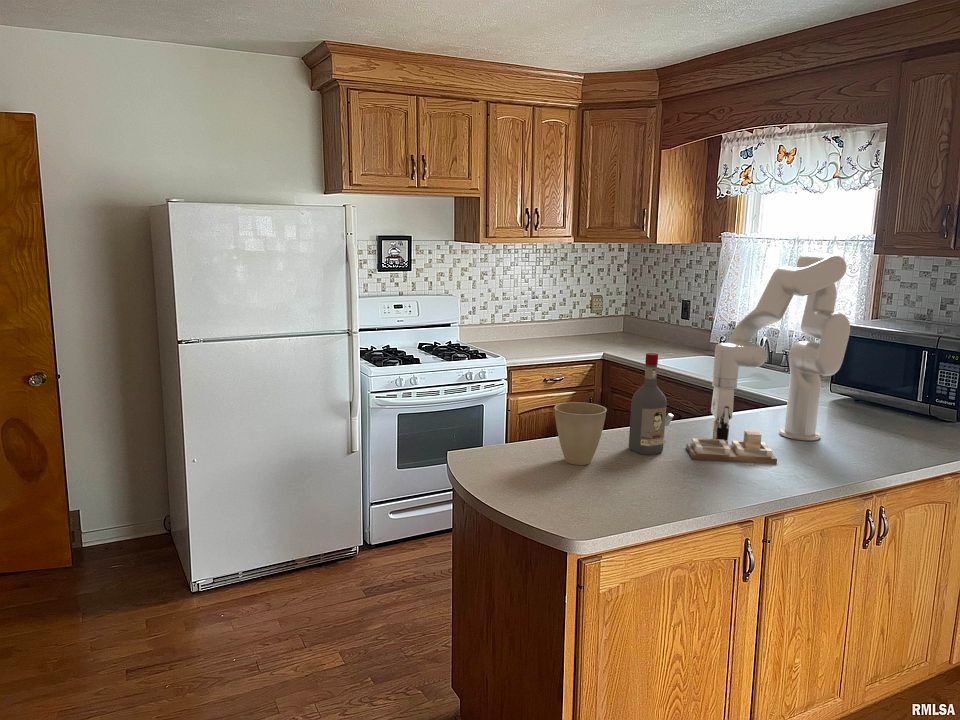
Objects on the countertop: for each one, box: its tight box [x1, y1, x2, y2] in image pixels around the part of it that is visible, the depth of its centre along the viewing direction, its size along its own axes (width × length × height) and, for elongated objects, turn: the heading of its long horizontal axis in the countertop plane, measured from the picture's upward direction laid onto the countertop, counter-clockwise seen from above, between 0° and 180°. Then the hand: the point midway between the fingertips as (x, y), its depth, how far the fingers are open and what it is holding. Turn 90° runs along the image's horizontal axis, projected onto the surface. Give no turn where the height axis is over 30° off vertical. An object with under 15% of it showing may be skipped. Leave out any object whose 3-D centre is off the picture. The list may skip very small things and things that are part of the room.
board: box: [686, 430, 778, 465], centre depth 227 cm, size 12×24×8 cm, turn 84°
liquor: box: [628, 352, 668, 456], centre depth 229 cm, size 9×9×30 cm
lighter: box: [664, 412, 674, 436], centre depth 247 cm, size 7×2×8 cm, turn 42°
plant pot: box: [554, 401, 608, 466], centre depth 218 cm, size 15×15×16 cm
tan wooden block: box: [712, 420, 730, 444], centre depth 242 cm, size 4×4×6 cm
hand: (720, 437), depth 243 cm, fingers closed on tan wooden block, 3 cm apart
